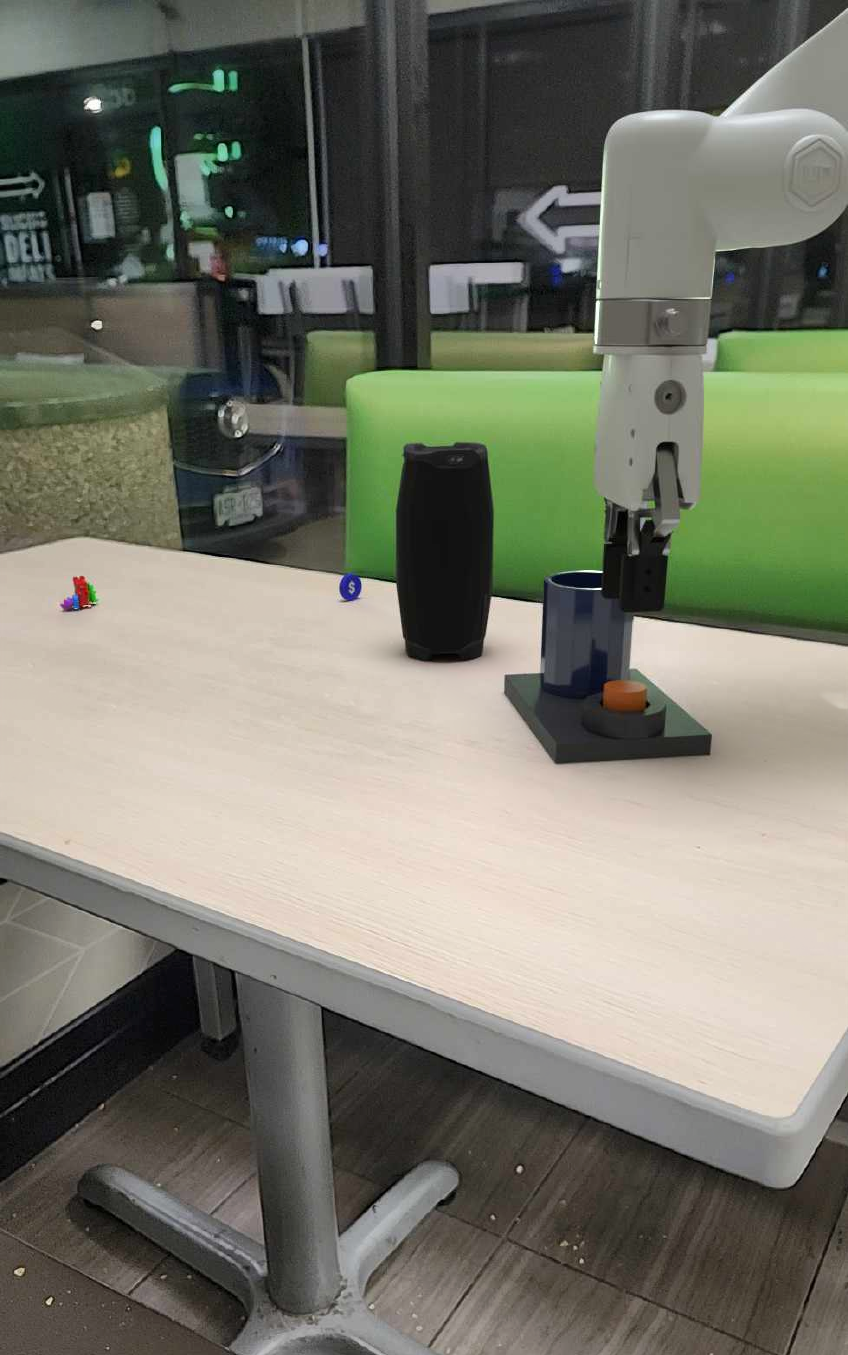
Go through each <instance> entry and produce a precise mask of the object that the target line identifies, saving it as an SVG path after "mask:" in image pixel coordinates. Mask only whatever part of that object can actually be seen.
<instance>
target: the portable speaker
mask: <svg viewBox="0 0 848 1355" xmlns="http://www.w3.org/2000/svg"><path fill="white" fill-rule="evenodd" d="M401 456H402V457H403V464H402V467H401V474H400V479H399V480H400V481H399V487H398V493H397V499H396V506H395V586H396V593H397V601H398V602H397V603H398V609H399V617H400V622H401V623H400V624H401V632H402V639H403V640H404V648H405V654H407V656H408V657H409V658H411V659H414V660H419V661H422V662H425V661H429V660H431V657H432V655H454V654H455V655H456V654H457V655H459V657H460V659H461V660H462V661H473V660H475V659H477V658H479V657H482V655H483V652H484V651H483V650H484V643H485V638H486V637H487V636H486V635H487V630H488V623H489V614H490V609H491V602H492V594H493V587H494V586H493V582H494V581H493V580H494V579H493V578H494V577H493V576H494V532H495V531H494V530H495V528H494V527H495V520H494V519H495V508H494V499H493V492H492V491H493V490H492V484H491V483H492V482H491V473H490V466H489V464H490V463H489V453H488V449H487V447H486V444H484V443H479V442H462V441H461V442H459V441H456V442H454V444H452V445H440V446H439V445H437V446H427V445H426V444H424V443H423V442H412V443H405V445H403V453H402V454H401Z"/></svg>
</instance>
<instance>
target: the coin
mask: <svg viewBox="0 0 848 1355" xmlns="http://www.w3.org/2000/svg"><path fill="white" fill-rule="evenodd" d="M338 586H339V587H338V589H339V594H340V596H341V598H342V599H344V600H346V601H354V600H353V599H355V600H356V599H358V598H359V596H360V594H361V592H362V589H363V588H362V586H363V585H362V580H361V578H360V577H359V575H357V574H355V573H354V574H353V573H346V574H345V575H343V576H342V578H341V579H340V582H339V585H338Z"/></svg>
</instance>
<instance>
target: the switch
mask: <svg viewBox="0 0 848 1355" xmlns="http://www.w3.org/2000/svg"><path fill="white" fill-rule="evenodd" d="M646 696H647V686H646V685H645V684H643V683H640V682H636V681H630V680H616V681H610V682H607V683H606V684H605V685H604V696H603V707H605V708H608V709H611V710H617V711H639V710H643V709H645V708H646Z"/></svg>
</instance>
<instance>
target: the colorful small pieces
mask: <svg viewBox="0 0 848 1355" xmlns="http://www.w3.org/2000/svg"><path fill="white" fill-rule="evenodd" d="M72 583H73V588H74V594H72V595H71V596H67V597H66V598H64V599H63V602H61V603H60V607H61V608H62V609H63V610H64V611H65V610H67V609H68V610H70V609H71V608H72V610H74V609H75V608H77V609H76V610H80V608H79V607H83V606H84V605H91V603H90V602H92V603H93V602H97V601H98V600H99V599H98V598H97V597H96V595H97V590H96V589H94V585H93V584H92V583H90V582H88V581H86V577H85V576H84V575H80V576H79V577H78V576H73V577H72ZM99 601H100V600H99ZM72 606H73V607H72ZM91 606H92V605H91ZM70 607H71V608H70ZM69 608H70V609H69ZM68 610H67V611H68Z"/></svg>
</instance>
